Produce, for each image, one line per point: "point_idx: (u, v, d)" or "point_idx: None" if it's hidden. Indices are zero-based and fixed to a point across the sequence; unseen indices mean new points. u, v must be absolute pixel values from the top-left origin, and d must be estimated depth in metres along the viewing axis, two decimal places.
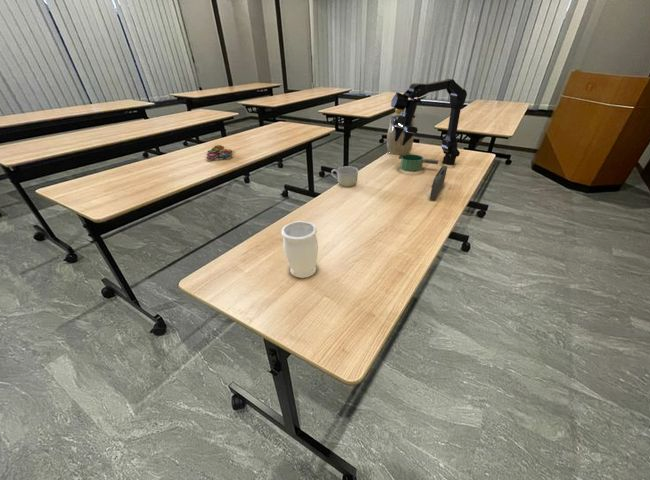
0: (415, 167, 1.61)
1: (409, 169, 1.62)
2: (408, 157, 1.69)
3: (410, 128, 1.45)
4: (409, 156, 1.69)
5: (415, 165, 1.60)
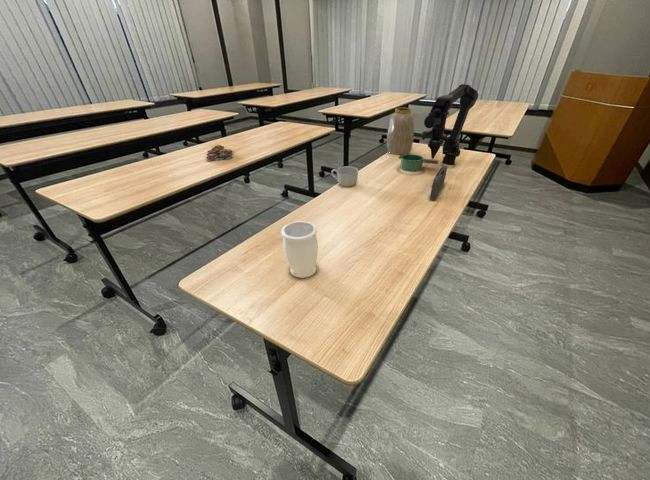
0: (415, 167, 1.61)
1: (409, 169, 1.62)
2: (408, 157, 1.69)
3: (430, 142, 1.47)
4: (409, 156, 1.69)
5: (415, 165, 1.60)
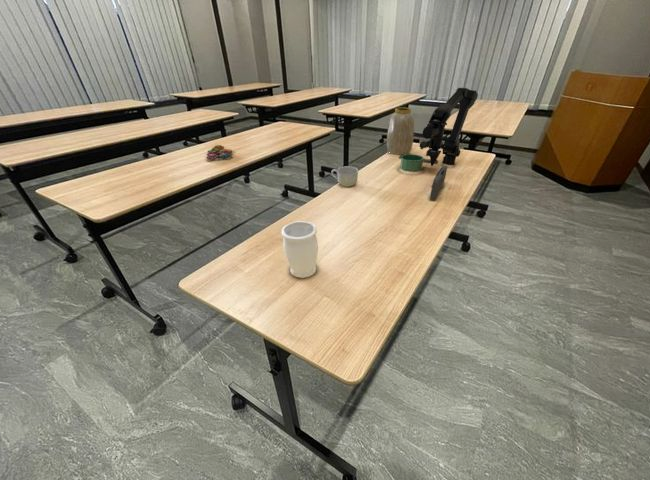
0: (415, 167, 1.61)
1: (409, 169, 1.62)
2: (408, 157, 1.69)
3: (429, 152, 1.50)
4: (409, 156, 1.69)
5: (415, 165, 1.60)
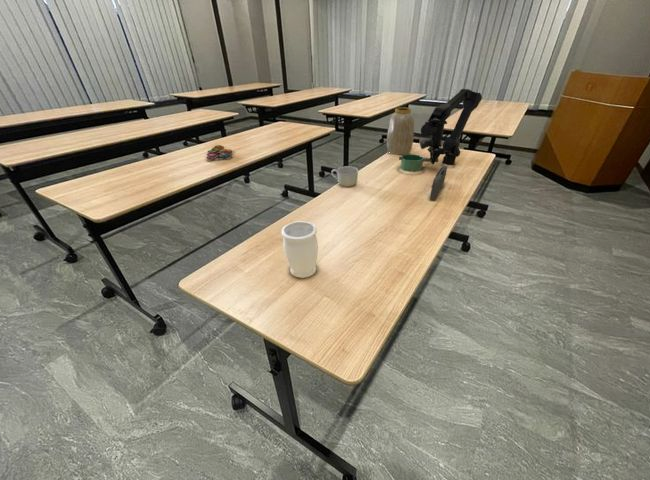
0: (418, 167, 1.61)
1: (412, 169, 1.62)
2: (406, 157, 1.68)
3: (436, 151, 1.51)
4: (407, 156, 1.68)
5: (418, 165, 1.61)
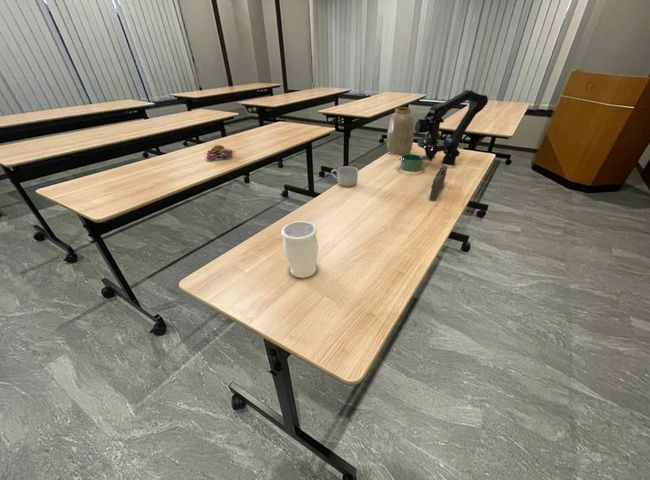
0: (421, 166, 1.63)
1: (417, 169, 1.62)
2: None
3: (439, 148, 1.56)
4: (403, 157, 1.67)
5: (421, 164, 1.62)
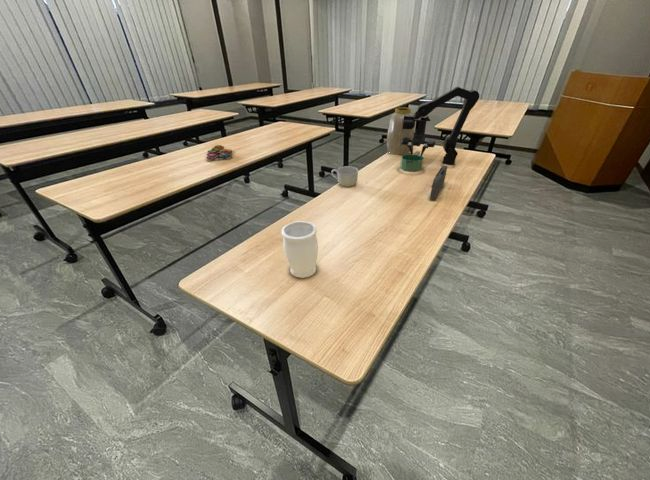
0: None
1: None
2: None
3: (434, 143, 1.64)
4: None
5: None
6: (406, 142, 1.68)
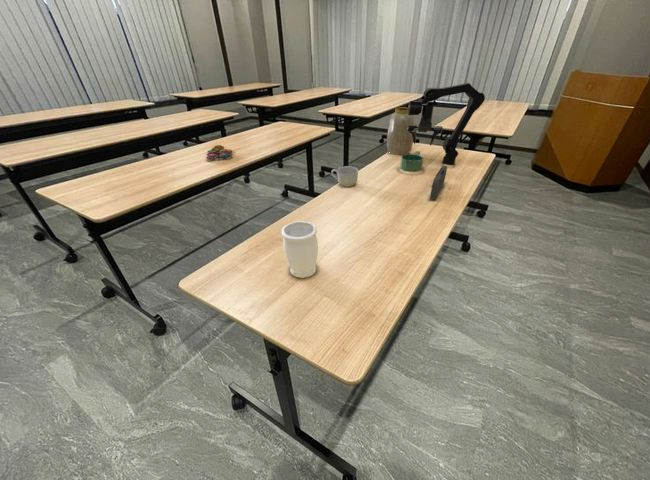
0: None
1: None
2: None
3: (441, 129, 1.58)
4: None
5: None
6: (412, 129, 1.62)
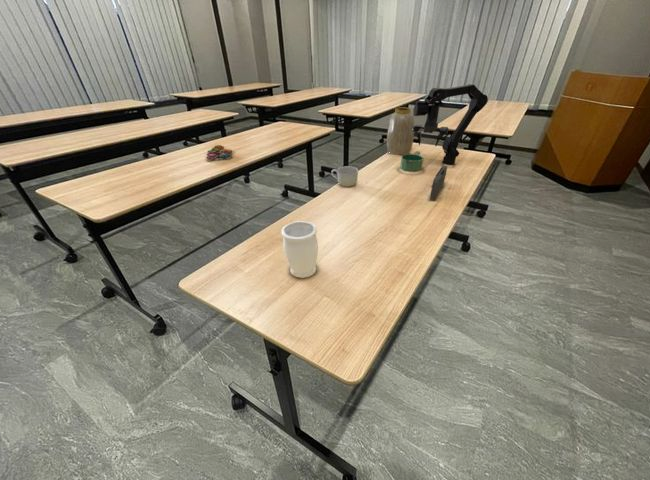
0: None
1: None
2: None
3: (447, 130, 1.56)
4: None
5: None
6: (417, 129, 1.60)
